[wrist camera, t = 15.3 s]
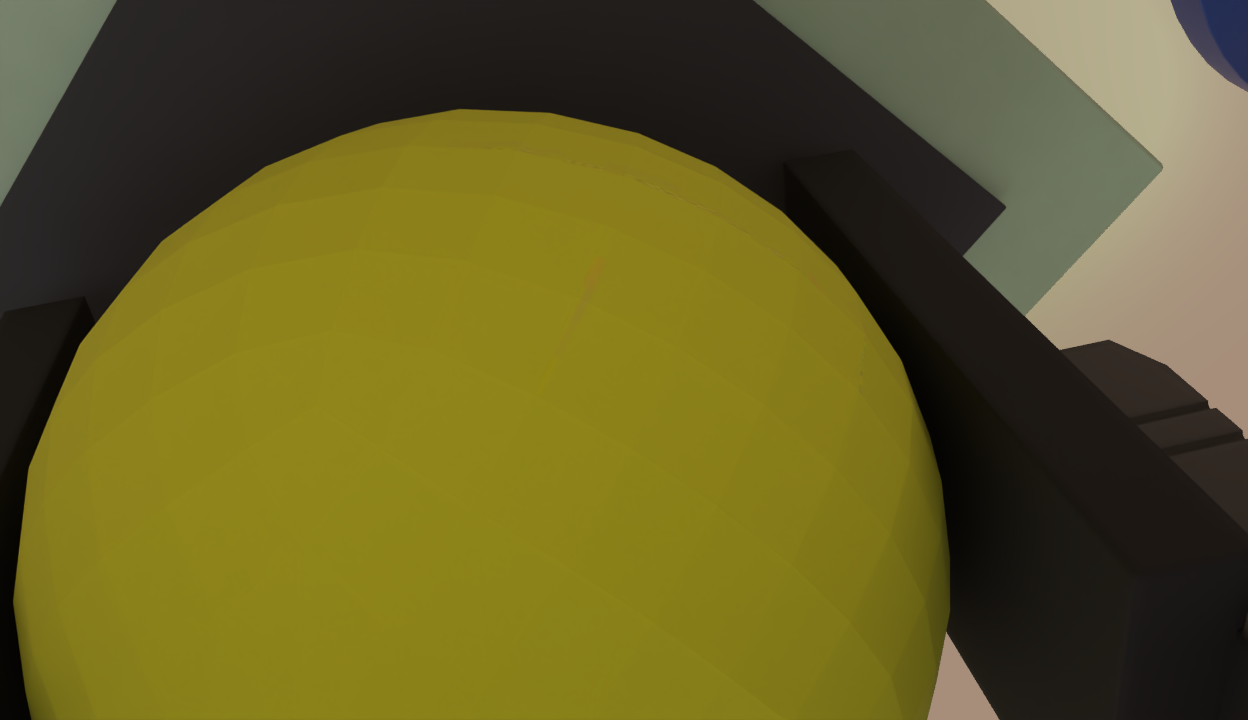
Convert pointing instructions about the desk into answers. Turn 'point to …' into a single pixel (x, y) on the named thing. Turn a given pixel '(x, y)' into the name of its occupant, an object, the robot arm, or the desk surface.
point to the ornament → (484, 453)
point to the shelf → (541, 111)
